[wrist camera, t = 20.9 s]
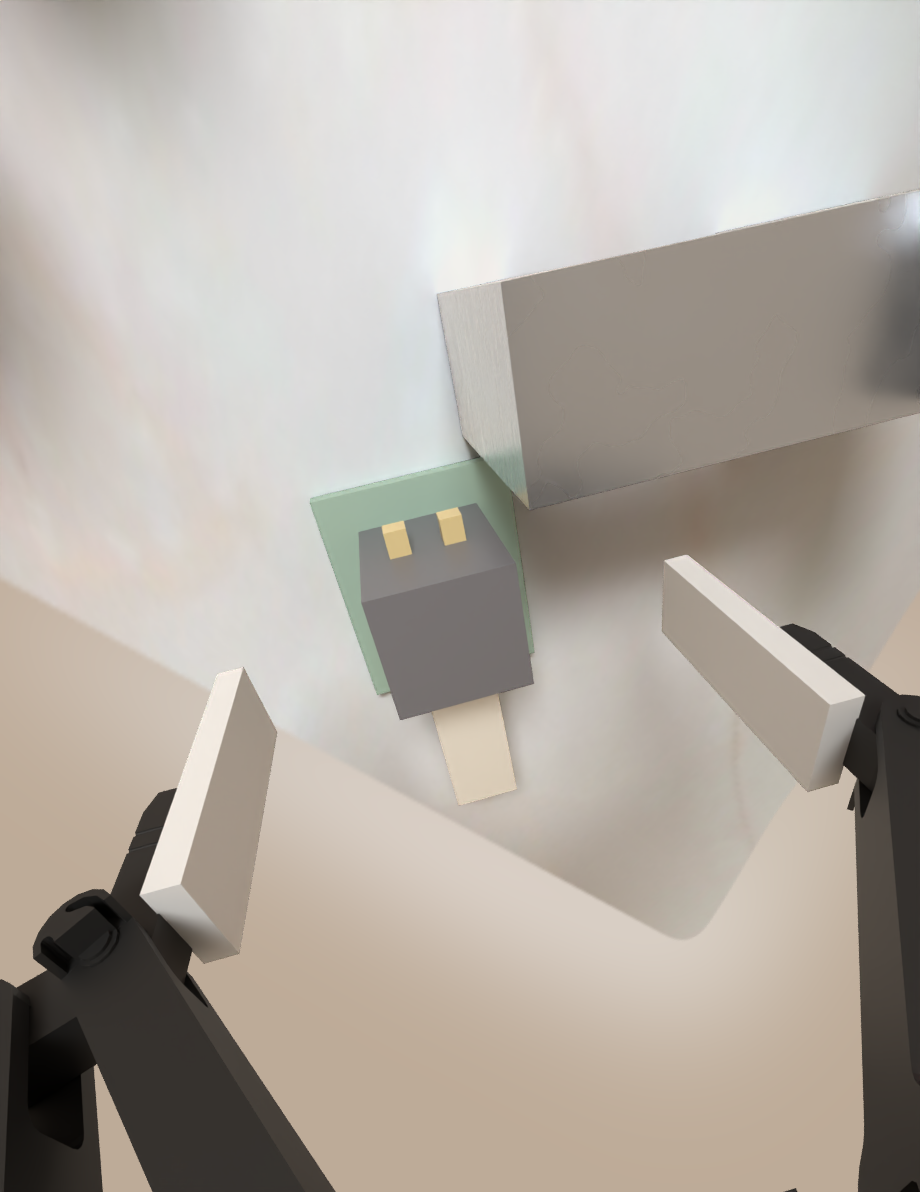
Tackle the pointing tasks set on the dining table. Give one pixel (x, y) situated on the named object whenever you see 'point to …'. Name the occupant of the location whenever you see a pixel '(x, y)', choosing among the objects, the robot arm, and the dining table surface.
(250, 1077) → the robot arm
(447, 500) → the mat
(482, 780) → the plug
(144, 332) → the dining table surface
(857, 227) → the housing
